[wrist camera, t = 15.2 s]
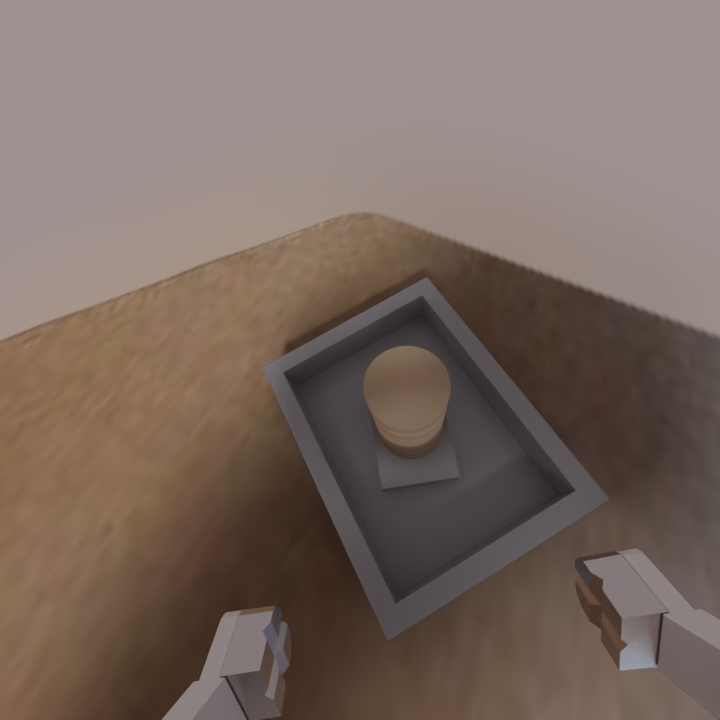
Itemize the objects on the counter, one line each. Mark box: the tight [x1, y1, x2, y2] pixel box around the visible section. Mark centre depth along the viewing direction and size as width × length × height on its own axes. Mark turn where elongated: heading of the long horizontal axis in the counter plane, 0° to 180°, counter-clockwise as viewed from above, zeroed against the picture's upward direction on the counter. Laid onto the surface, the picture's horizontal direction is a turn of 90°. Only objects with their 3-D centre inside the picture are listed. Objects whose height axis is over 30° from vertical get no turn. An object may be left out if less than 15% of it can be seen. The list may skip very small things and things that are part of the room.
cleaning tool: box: [363, 346, 460, 491], centre depth 21 cm, size 7×5×10 cm
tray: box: [262, 277, 610, 641], centre depth 25 cm, size 18×14×4 cm
